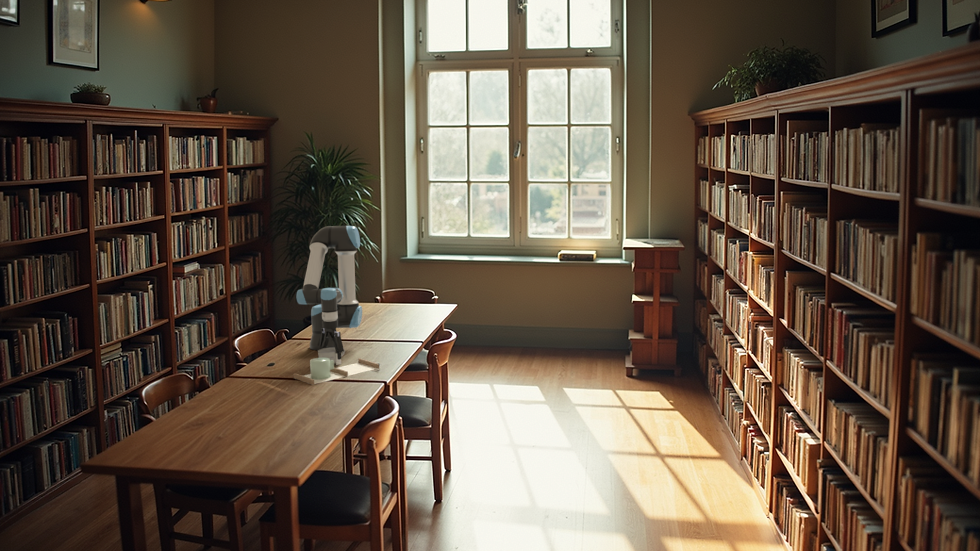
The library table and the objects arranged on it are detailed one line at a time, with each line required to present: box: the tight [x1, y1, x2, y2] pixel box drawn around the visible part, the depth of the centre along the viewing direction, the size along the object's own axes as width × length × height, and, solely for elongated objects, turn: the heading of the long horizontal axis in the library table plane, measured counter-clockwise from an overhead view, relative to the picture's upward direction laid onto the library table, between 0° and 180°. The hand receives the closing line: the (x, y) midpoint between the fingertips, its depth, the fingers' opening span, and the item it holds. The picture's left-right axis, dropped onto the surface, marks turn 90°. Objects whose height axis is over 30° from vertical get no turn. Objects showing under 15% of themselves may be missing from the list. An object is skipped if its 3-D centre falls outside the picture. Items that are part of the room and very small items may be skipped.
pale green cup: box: [309, 357, 335, 380], centre depth 387 cm, size 9×12×8 cm
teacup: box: [317, 347, 346, 366], centre depth 412 cm, size 14×11×8 cm
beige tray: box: [293, 358, 381, 386], centre depth 393 cm, size 16×37×3 cm, turn 134°
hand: (332, 363), depth 413 cm, fingers closed on teacup, 11 cm apart
